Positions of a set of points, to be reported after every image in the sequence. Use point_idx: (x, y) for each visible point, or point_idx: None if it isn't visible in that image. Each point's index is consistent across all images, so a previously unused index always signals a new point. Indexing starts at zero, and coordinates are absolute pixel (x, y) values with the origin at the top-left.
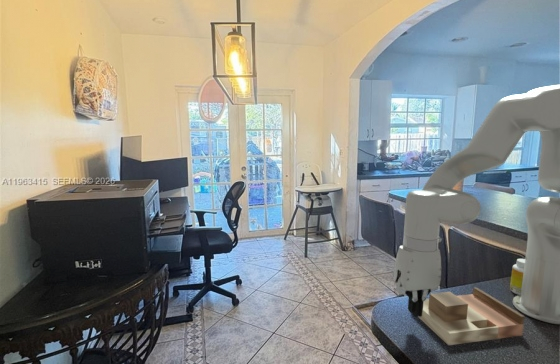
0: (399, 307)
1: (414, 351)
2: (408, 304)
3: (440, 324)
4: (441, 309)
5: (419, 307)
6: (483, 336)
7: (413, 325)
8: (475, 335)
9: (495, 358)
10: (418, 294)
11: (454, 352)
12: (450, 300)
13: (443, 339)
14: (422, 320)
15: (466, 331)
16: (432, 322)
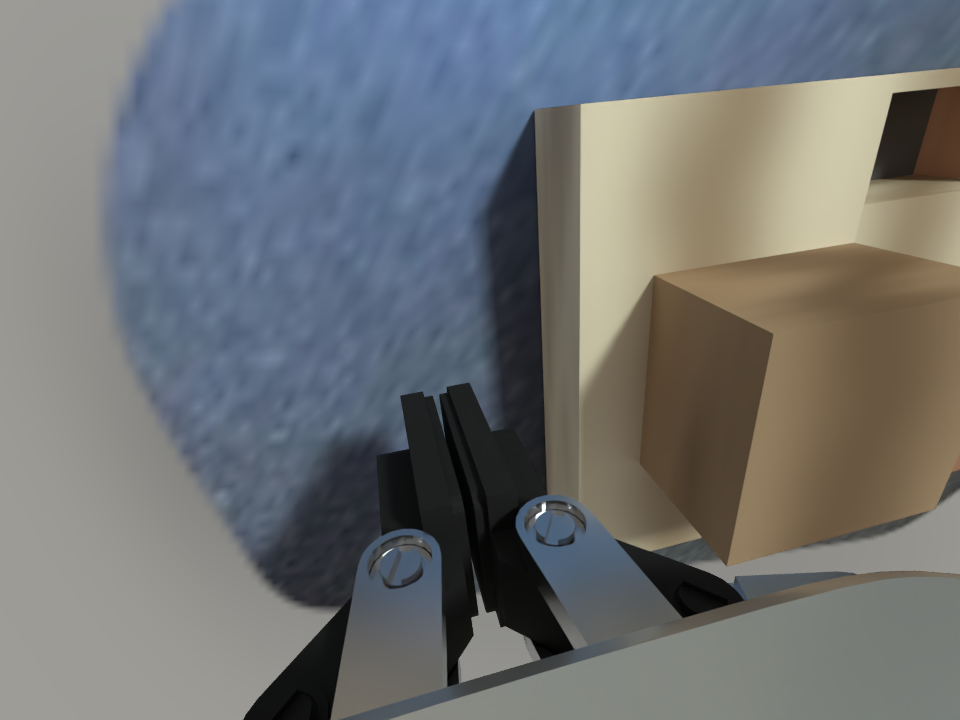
0: (437, 25)
1: (319, 569)
2: (380, 488)
3: (586, 493)
4: (690, 477)
5: (471, 556)
6: None
7: (436, 336)
8: None
9: (693, 559)
10: (533, 603)
11: None
12: (856, 468)
13: (549, 479)
14: (541, 283)
15: (693, 539)
16: (565, 414)
